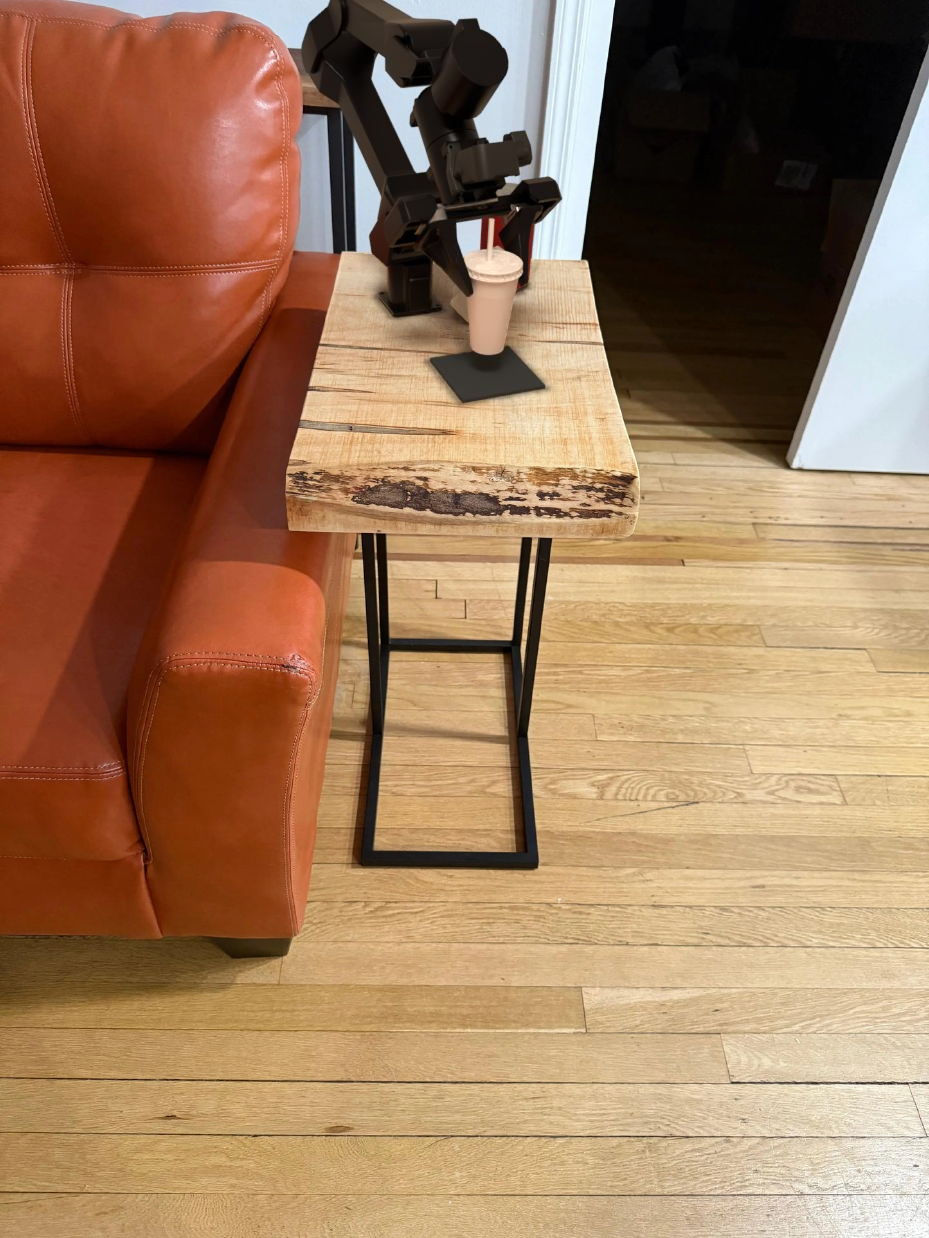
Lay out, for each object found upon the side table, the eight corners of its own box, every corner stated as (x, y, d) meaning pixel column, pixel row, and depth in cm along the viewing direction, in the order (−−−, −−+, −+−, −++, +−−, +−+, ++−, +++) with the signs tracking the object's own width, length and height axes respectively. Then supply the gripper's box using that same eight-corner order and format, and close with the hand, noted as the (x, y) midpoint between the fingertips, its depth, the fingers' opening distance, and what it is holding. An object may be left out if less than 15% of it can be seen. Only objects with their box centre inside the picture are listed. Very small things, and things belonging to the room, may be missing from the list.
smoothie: (446, 343, 102) (451, 215, 93) (489, 328, 106) (498, 202, 96) (484, 366, 99) (493, 235, 89) (527, 349, 102) (540, 221, 93)
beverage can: (529, 276, 125) (538, 183, 117) (527, 296, 120) (536, 201, 112) (480, 272, 125) (485, 179, 117) (476, 292, 120) (480, 197, 112)
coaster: (429, 360, 106) (429, 357, 106) (508, 348, 109) (508, 345, 109) (462, 402, 100) (462, 399, 99) (545, 388, 103) (545, 385, 102)
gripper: (394, 108, 85) (445, 272, 86) (563, 91, 92) (609, 243, 93) (362, 171, 95) (408, 317, 96) (516, 151, 102) (558, 287, 103)
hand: (497, 290), depth 97 cm, fingers closed on smoothie, 6 cm apart
